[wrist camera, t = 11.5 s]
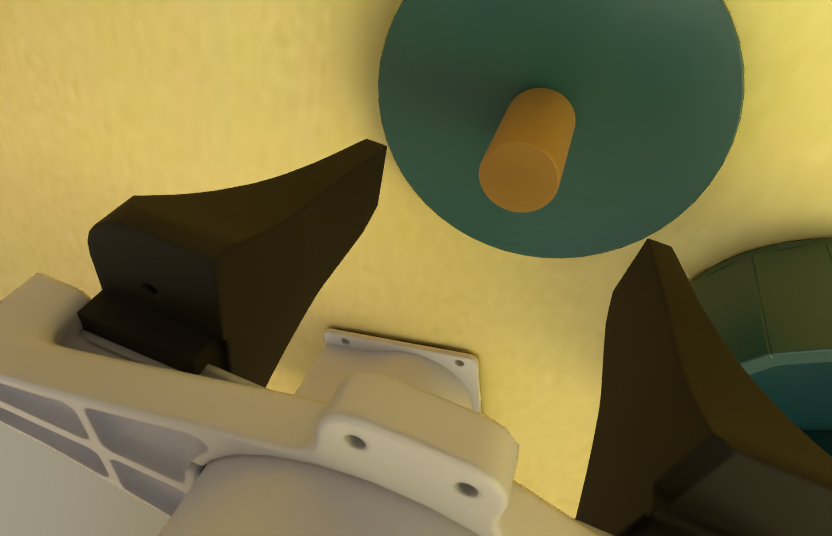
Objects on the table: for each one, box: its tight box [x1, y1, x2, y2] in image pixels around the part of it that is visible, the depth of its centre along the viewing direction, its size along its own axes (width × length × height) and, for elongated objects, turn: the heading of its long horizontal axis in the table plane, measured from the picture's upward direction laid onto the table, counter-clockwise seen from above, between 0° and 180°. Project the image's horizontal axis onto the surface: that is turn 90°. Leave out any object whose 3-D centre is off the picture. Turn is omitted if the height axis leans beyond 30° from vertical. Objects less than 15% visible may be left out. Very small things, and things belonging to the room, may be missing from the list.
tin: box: [690, 238, 832, 457], centre depth 20 cm, size 11×11×5 cm
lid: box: [378, 0, 744, 258], centre depth 18 cm, size 12×12×5 cm
